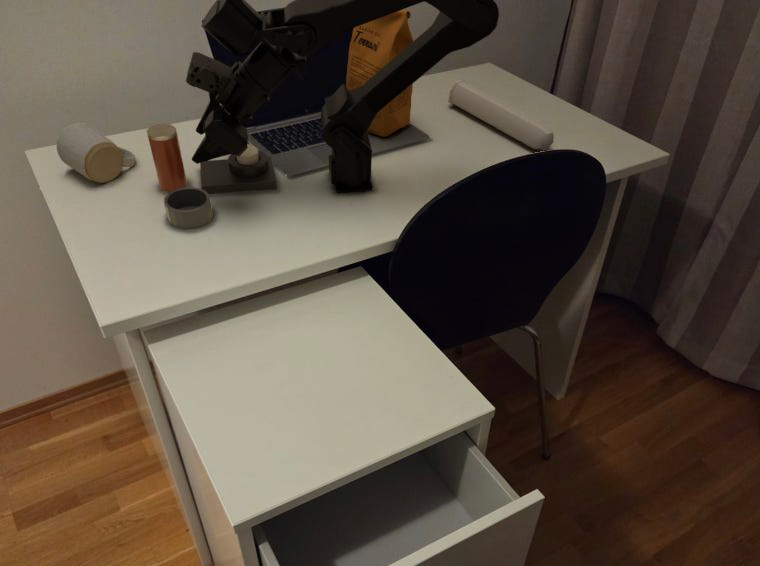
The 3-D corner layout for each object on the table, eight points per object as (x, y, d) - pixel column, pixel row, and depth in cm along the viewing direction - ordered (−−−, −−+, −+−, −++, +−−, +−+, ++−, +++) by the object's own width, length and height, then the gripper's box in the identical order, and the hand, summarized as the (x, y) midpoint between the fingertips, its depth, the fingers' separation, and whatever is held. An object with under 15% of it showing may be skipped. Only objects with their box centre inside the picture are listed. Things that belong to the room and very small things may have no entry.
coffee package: (374, 104, 131) (378, -15, 115) (417, 127, 126) (427, 6, 110) (337, 117, 126) (336, -4, 110) (380, 142, 121) (385, 18, 105)
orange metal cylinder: (191, 181, 108) (180, 125, 100) (182, 195, 105) (170, 138, 97) (165, 178, 108) (152, 122, 100) (156, 192, 105) (142, 135, 97)
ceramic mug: (93, 192, 104) (79, 148, 98) (63, 173, 107) (49, 130, 101) (148, 168, 110) (138, 126, 104) (118, 151, 113) (107, 109, 107)
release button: (258, 154, 109) (257, 144, 108) (259, 165, 107) (258, 155, 105) (236, 155, 108) (235, 146, 107) (238, 166, 106) (236, 157, 105)
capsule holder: (212, 204, 103) (209, 185, 101) (213, 229, 99) (210, 209, 96) (168, 207, 102) (164, 188, 100) (168, 232, 98) (163, 213, 95)
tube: (563, 129, 120) (470, 80, 132) (548, 128, 117) (453, 77, 129) (551, 156, 123) (460, 106, 135) (536, 156, 120) (444, 104, 131)
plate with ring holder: (271, 165, 113) (270, 147, 110) (276, 191, 107) (274, 172, 105) (201, 170, 110) (198, 151, 108) (203, 196, 105) (199, 177, 102)
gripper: (216, 12, 96) (157, 85, 103) (210, 63, 84) (143, 143, 90) (274, 65, 103) (215, 130, 110) (276, 119, 91) (209, 190, 97)
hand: (196, 146), depth 102 cm, fingers open, 9 cm apart
